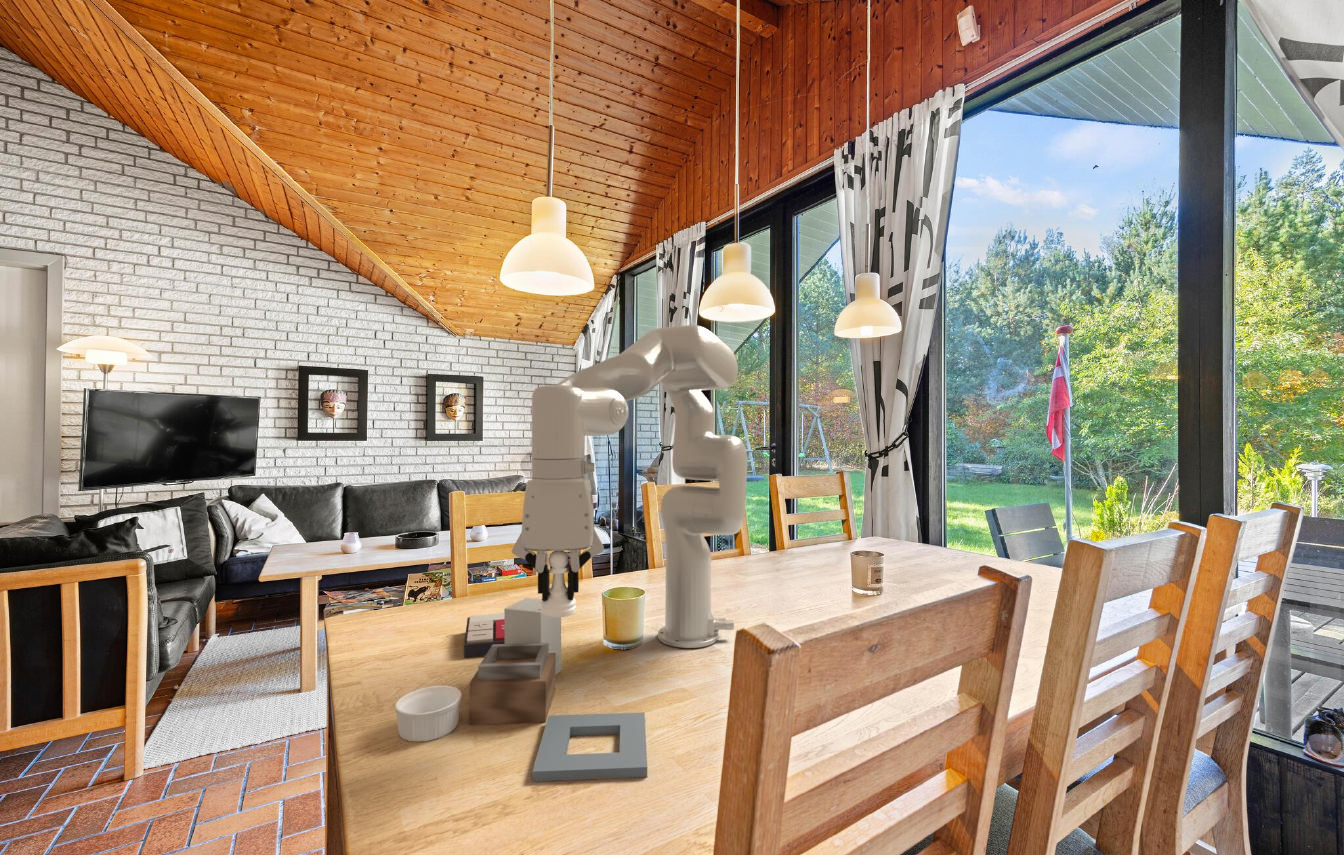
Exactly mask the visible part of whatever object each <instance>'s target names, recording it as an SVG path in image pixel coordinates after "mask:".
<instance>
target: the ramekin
mask: <svg viewBox="0 0 1344 855" xmlns="http://www.w3.org/2000/svg"><path fill="white" fill-rule="evenodd" d="M462 698H463V692H462V691H461V689H460V688H458V687H455V686H450V685H432V686H427V687H421V688H419V689H415V690H413V691H410V692H408V693H406V694H404V695H403V696H401V697H400V698H399V699H398V700H397V701H396V702H395V704H394V710H395V713H396V718H397V719H396V720H397V730H398V731H397V732H398V735H399V737H402V738H401V739H403V740H405V739H406V740H405V741H407V740H408V741H407V742H411V741H424V742H429V740H430V741H433V739H435V740H438V739H440V738H443V737H445V736H447V735H449V734H450V733H451V732H452V731H454V730H455V729H456V728H457V727H458V724H459V722H460V721H459V719H460V708H461V700H462ZM437 738H438V739H437Z"/></svg>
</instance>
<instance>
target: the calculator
mask: <svg viewBox="0 0 1344 855" xmlns="http://www.w3.org/2000/svg"><path fill="white" fill-rule="evenodd" d="M493 644H505V613H504V612H503V613H502V612H501V613H493V614H491V613H489V614H479V615H478V614H477V615H469V616H468V617H467V621H466V627H465V633H464V642H463V658H464V659H471V658H472V659H473V658H479V657H481V658H482V657H485V656H486V654H487V653H488V651H489V649H490V648H491V646H492V645H493Z"/></svg>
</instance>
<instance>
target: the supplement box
mask: <svg viewBox="0 0 1344 855" xmlns="http://www.w3.org/2000/svg"><path fill="white" fill-rule="evenodd" d="M541 602H542V598H535V597H525V598H524V599H521V600H520V601H517V602H515V603H514V604H513V603H512V605H509V606H507V607H505V608H504V609H503V610H504V612H503V613H505V644H529V643H549V653H556V658H555V676H557V675H558V674H560V673H561V671H562V617H558V618H552V617H546V616H544V615H542V614H541V607H542V606H541Z"/></svg>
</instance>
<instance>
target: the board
mask: <svg viewBox="0 0 1344 855" xmlns="http://www.w3.org/2000/svg"><path fill="white" fill-rule="evenodd" d="M645 719H646V718H645V712H641V711H640V712H619V713H618V712H615V713H611V712H610V713H585V714H584V713H583V714H557V715H556V714H555V715H554V714H553V715H552V714H551V715H549V714H548V716H547V719H546V722H545V723H546V724H545V727H544V731H543V734H542V737H541V741H540V744H539V747H538V752H537V754H536V758H535V761H534V764H533V769H532V771H531V773H532V774H531V775H532V777H531V778H532V779H531V781H532V782H551V781H552V782H554V781H557V782H558V781H577V780H601V779H602V780H603V779H604V780H605V779H607V780H608V779H627V778H631V779H632V778H648V757H647V756H648V753H647V737H646V736H647V735H646V720H645ZM617 734H618V735H619V752H595V753H575V754H574V753H573V754H571V753H568V749H569V744H570V738H571V736H590V735H592V736H595V735H596V736H597V735H617ZM567 753H568V754H567Z"/></svg>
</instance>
